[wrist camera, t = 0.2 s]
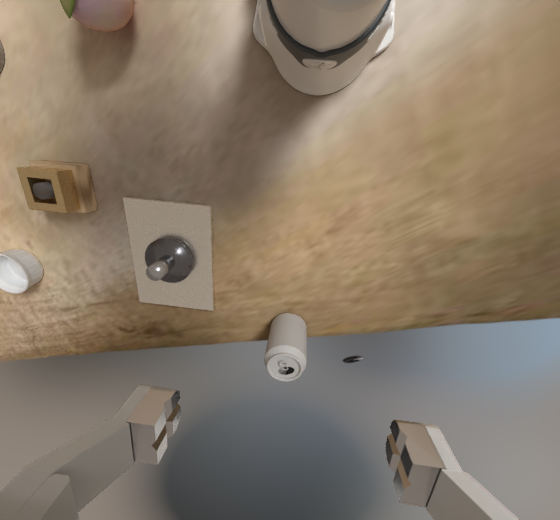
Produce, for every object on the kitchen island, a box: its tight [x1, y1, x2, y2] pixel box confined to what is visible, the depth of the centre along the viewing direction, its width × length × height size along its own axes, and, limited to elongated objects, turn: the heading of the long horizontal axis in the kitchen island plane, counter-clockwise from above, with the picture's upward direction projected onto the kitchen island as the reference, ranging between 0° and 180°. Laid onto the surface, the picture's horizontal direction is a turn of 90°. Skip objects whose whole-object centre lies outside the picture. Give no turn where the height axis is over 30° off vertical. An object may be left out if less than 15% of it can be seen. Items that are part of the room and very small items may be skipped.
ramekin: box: [0, 249, 43, 293], centre depth 54 cm, size 9×9×4 cm
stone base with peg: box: [123, 197, 215, 311], centre depth 48 cm, size 22×16×8 cm
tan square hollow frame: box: [17, 166, 81, 213], centre depth 44 cm, size 7×7×3 cm
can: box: [264, 313, 307, 381], centre depth 51 cm, size 8×8×12 cm
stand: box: [29, 161, 98, 213], centre depth 45 cm, size 8×8×6 cm
